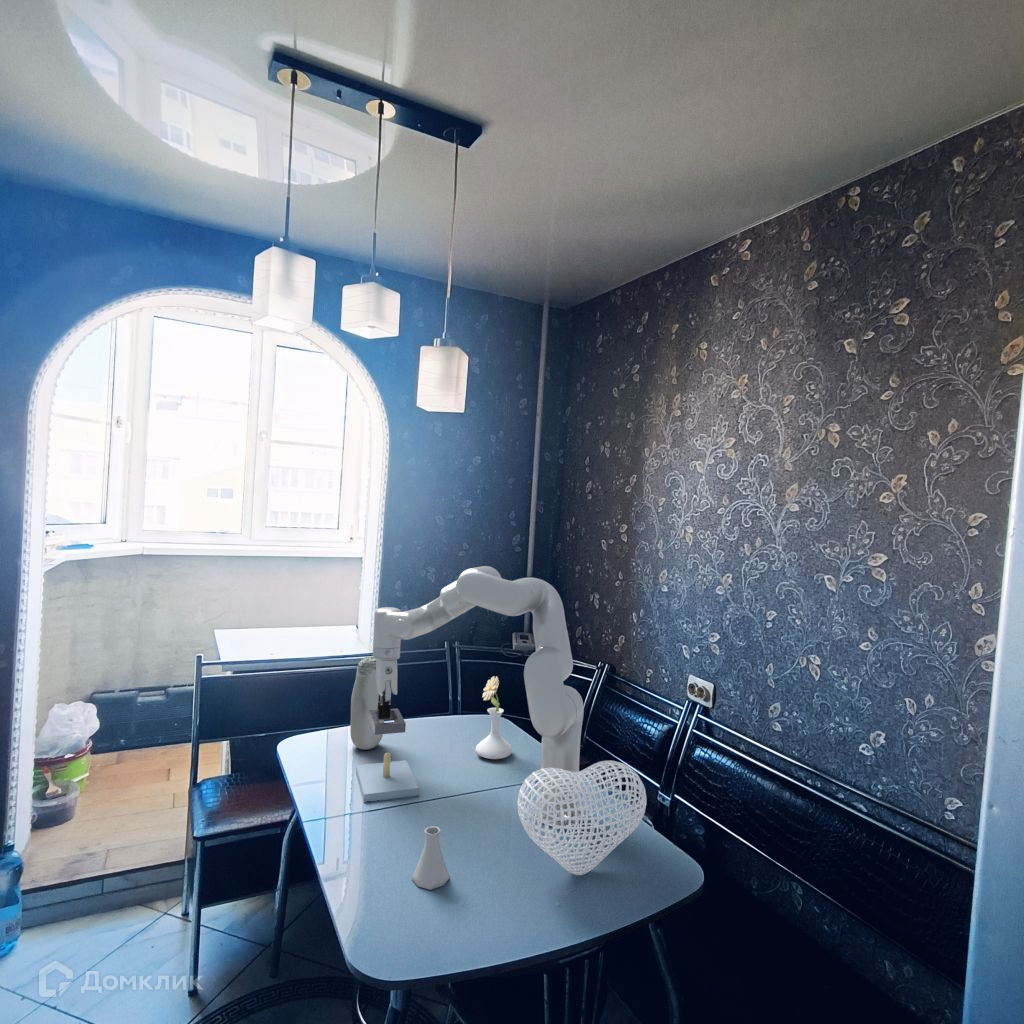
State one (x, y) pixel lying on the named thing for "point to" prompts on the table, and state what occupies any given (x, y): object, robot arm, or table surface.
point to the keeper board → (386, 780)
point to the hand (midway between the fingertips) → (383, 716)
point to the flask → (431, 862)
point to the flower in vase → (493, 727)
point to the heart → (581, 778)
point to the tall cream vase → (364, 705)
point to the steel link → (389, 727)
